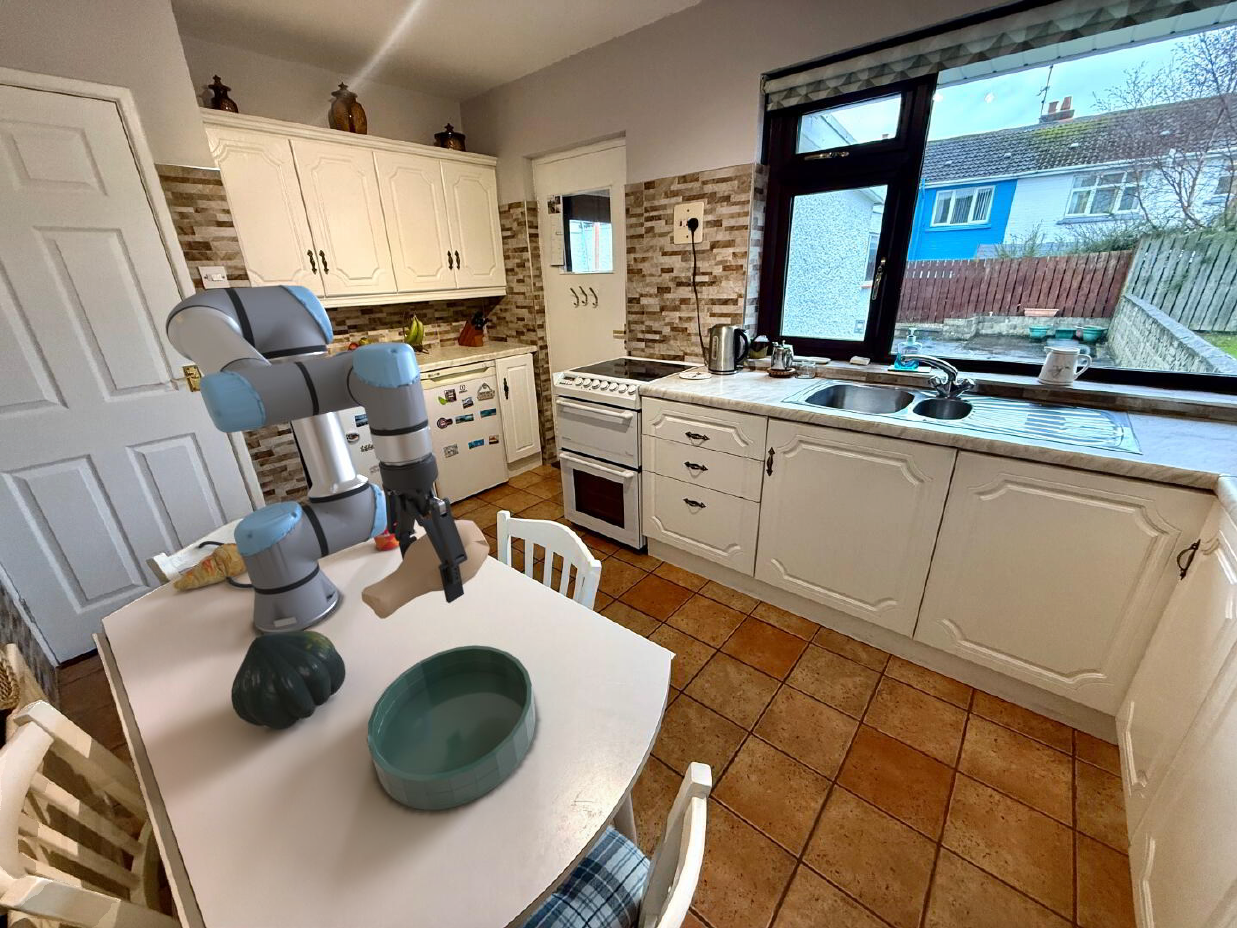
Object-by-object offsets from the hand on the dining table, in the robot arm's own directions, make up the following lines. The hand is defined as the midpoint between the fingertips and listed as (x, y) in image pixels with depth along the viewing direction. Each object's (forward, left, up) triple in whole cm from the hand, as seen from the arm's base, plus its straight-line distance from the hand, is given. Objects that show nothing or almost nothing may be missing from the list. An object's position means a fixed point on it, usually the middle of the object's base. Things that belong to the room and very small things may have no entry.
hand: (434, 585), depth 77 cm
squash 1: (-17, -19, -20) cm, 32 cm away
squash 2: (0, 0, 0) cm, 0 cm away
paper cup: (-52, +16, -20) cm, 58 cm away
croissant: (-73, -13, -20) cm, 77 cm away
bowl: (+9, -6, -20) cm, 23 cm away
